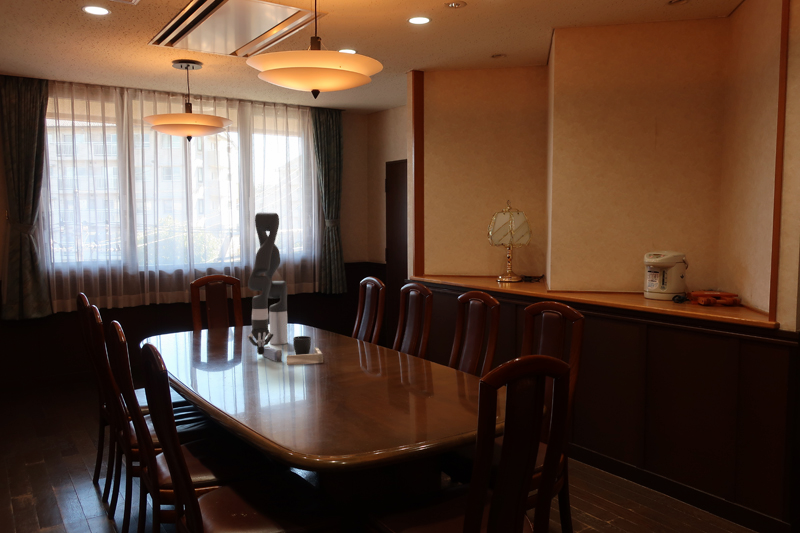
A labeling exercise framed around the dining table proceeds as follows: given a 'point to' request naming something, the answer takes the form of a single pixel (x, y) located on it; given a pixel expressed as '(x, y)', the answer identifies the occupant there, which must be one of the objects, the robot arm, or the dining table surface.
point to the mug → (302, 344)
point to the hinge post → (279, 355)
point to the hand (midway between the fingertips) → (260, 354)
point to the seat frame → (305, 358)
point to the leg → (270, 353)
